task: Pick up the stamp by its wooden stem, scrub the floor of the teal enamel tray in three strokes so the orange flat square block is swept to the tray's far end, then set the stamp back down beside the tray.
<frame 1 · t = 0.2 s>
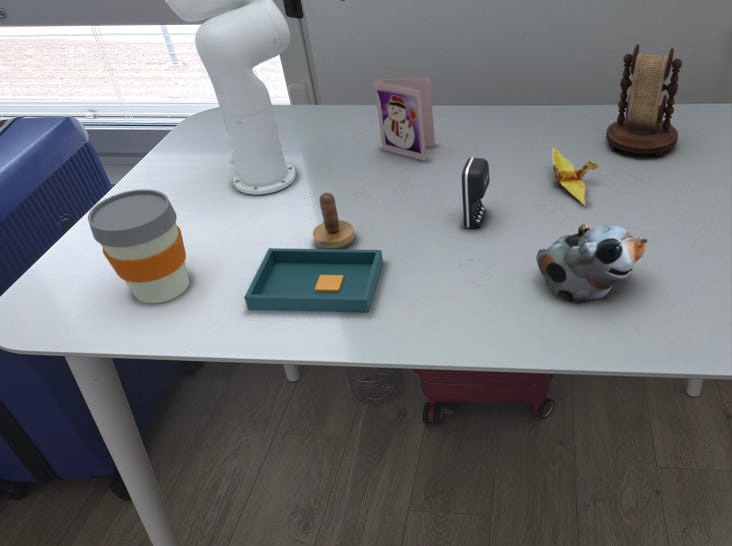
hand: (317, 8, 106), 36 cm above the table, tool pointing down, fingers open, 9 cm apart
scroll: (640, 144, 147), on the table
lucky cat figurine: (588, 282, 113), on the table
stamp: (335, 243, 124), on the table
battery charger: (477, 220, 128), on the table
greeting card: (411, 150, 149), on the table
orange flat square block: (329, 285, 114), point 1 cm above the table, touching tray
reusable coffee cup: (162, 287, 117), on the table
tray: (318, 287, 115), on the table
origami crane: (567, 185, 136), on the table
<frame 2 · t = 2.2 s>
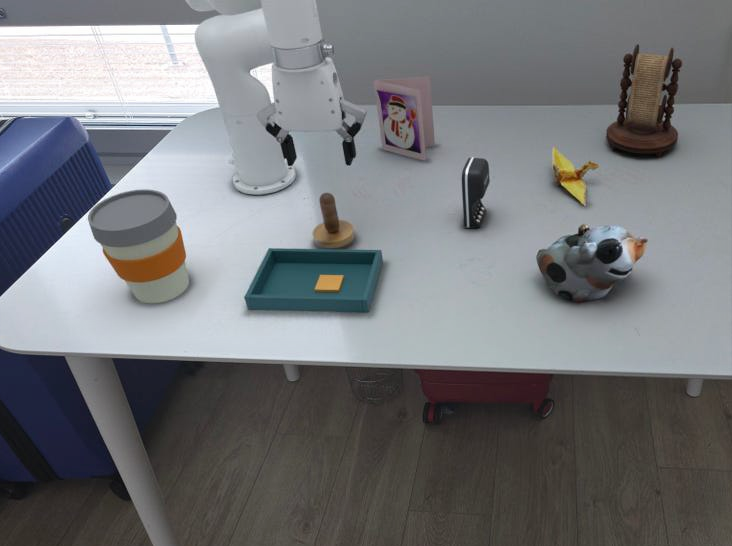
hand: (321, 162, 113), 16 cm above the table, tool pointing down, fingers open, 9 cm apart
nothing on the table moved.
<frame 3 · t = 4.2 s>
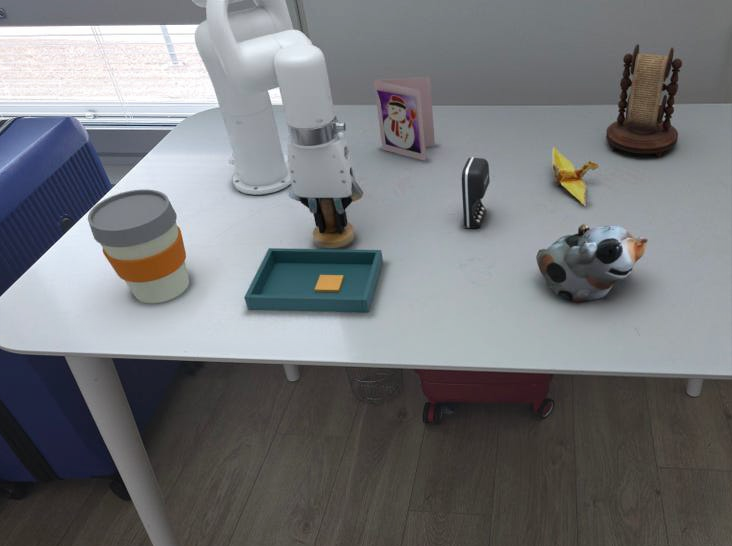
hand: (332, 228, 122), 3 cm above the table, tool pointing down, fingers closed on stamp, 2 cm apart
stamp: (335, 243, 124), on the table, touching gripper
everything else where it was.
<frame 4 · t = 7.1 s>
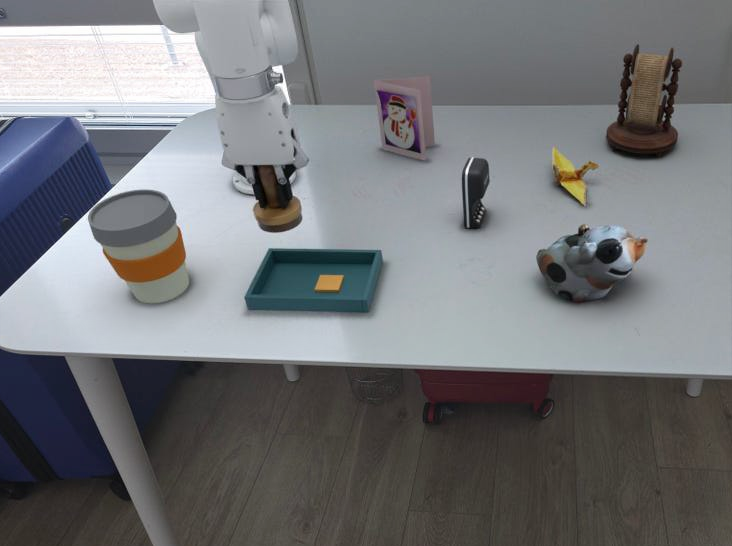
hand: (275, 202, 105), 15 cm above the table, tool pointing down, fingers closed on stamp, 2 cm apart
stamp: (280, 221, 107), point 12 cm above the table, touching gripper
everything else where it was.
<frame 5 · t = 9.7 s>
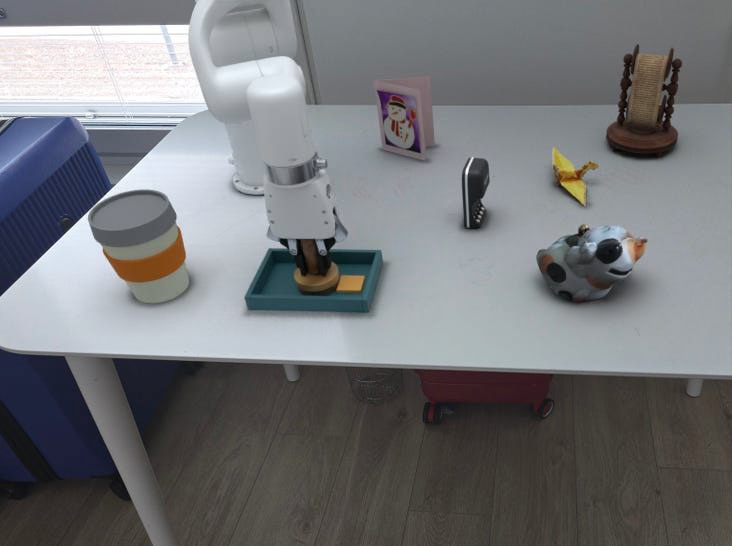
hand: (315, 270, 112), 4 cm above the table, tool pointing down, fingers closed on stamp, 2 cm apart
stamp: (319, 285, 114), point 1 cm above the table, touching gripper
orange flat square block: (351, 285, 114), point 1 cm above the table, touching tray
everything else where it was.
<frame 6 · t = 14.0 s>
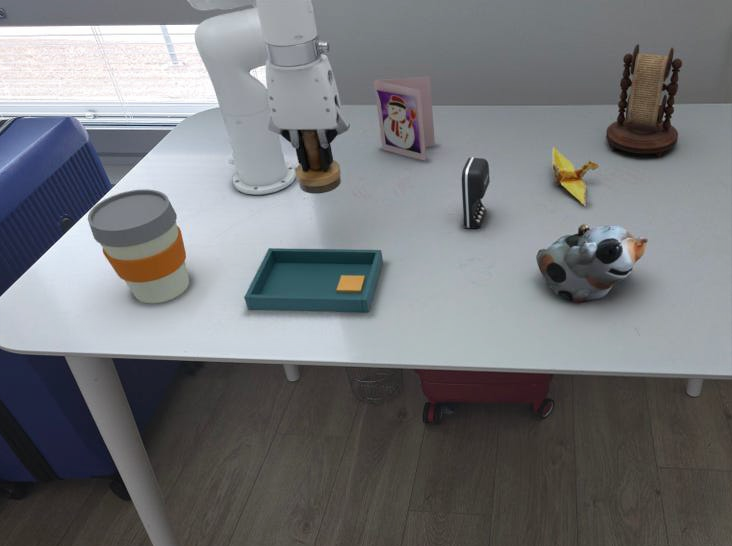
hand: (317, 166, 112), 16 cm above the table, tool pointing down, fingers closed on stamp, 2 cm apart
stamp: (320, 183, 114), point 13 cm above the table, touching gripper
everything else where it was.
when the fingers open (3 cm above the table, at t = 17.2 s): stamp stays where it is, on the table.
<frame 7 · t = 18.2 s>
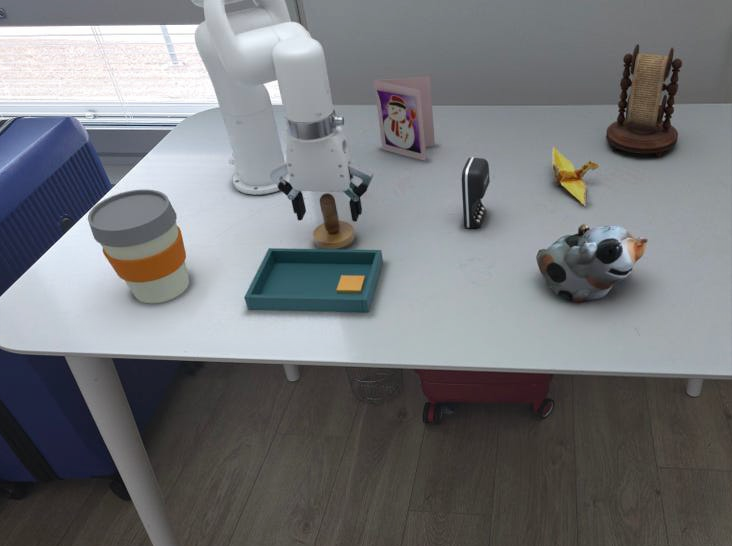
hand: (329, 216, 121), 5 cm above the table, tool pointing down, fingers open, 9 cm apart
stamp: (335, 244, 124), on the table
everything else where it was.
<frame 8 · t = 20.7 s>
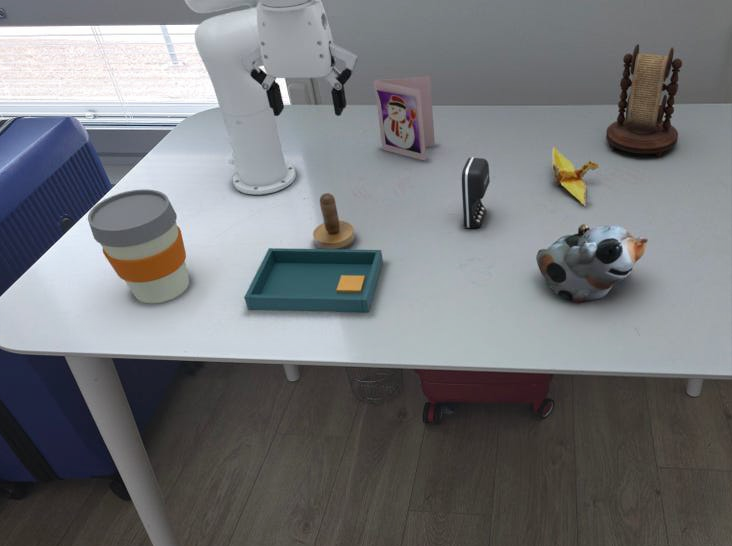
hand: (309, 112, 107), 24 cm above the table, tool pointing down, fingers open, 9 cm apart
nothing on the table moved.
at the end: orange flat square block moved 3.6 cm from its start; orange flat square block 0.7 cm from the target spot in the tray, point 0.6 cm above the tray's base; stamp 0.2 cm from the target spot, on the table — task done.
